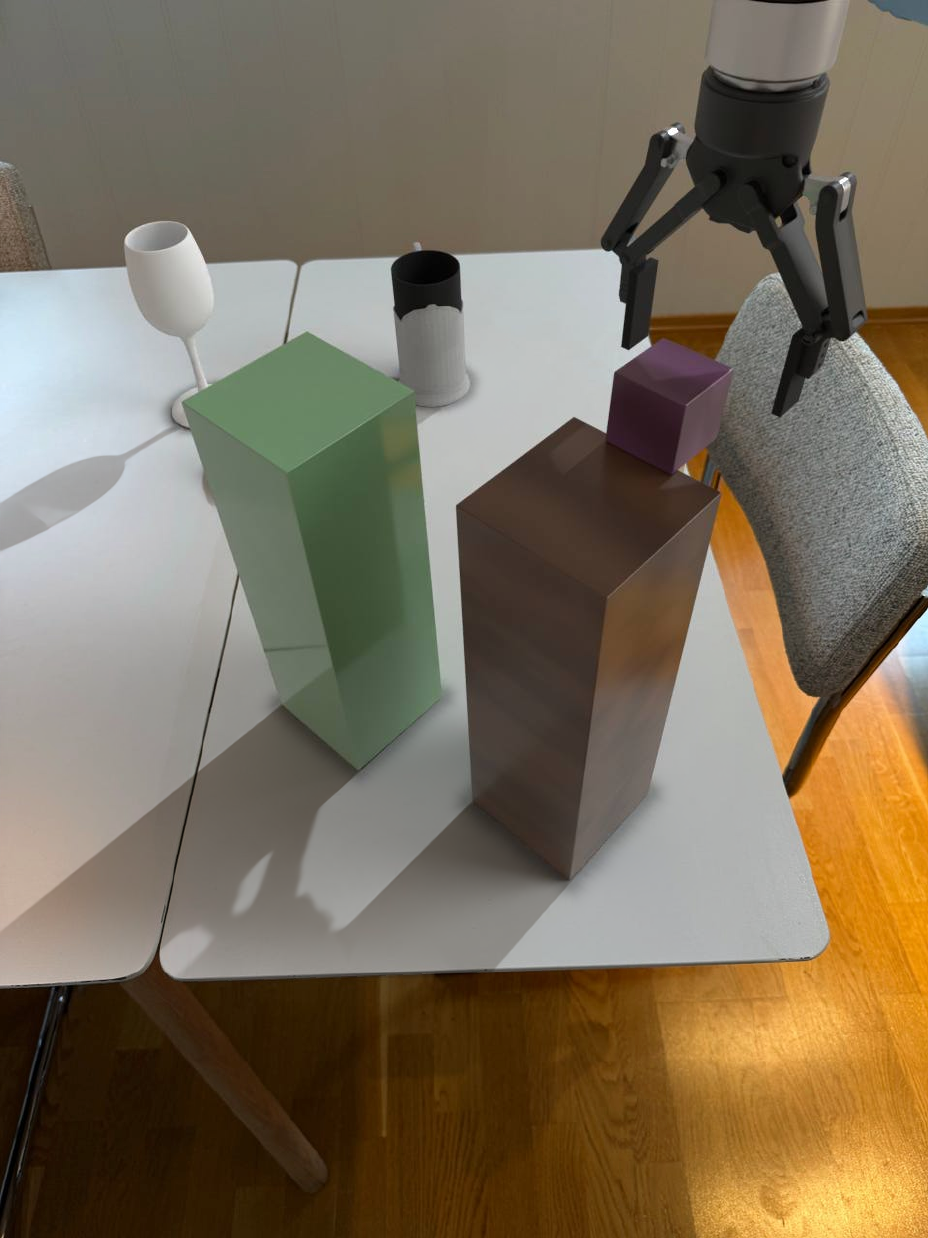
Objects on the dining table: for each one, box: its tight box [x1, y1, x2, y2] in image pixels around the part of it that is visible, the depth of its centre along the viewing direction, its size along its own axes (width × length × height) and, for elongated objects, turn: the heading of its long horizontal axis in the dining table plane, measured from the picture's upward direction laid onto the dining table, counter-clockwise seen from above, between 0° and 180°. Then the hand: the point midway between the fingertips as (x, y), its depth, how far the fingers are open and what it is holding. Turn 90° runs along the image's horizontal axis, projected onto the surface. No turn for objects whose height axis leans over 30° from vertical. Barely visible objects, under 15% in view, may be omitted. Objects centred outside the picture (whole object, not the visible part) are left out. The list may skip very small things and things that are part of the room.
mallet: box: [605, 337, 734, 475], centre depth 53 cm, size 16×4×4 cm
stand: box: [455, 416, 723, 881], centre depth 60 cm, size 10×10×32 cm
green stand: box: [181, 331, 443, 771], centre depth 66 cm, size 10×10×32 cm
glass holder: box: [390, 241, 471, 408], centre depth 104 cm, size 9×14×15 cm, turn 10°
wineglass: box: [123, 220, 215, 429], centre depth 99 cm, size 9×9×21 cm
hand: (706, 373), depth 70 cm, fingers open, 13 cm apart
